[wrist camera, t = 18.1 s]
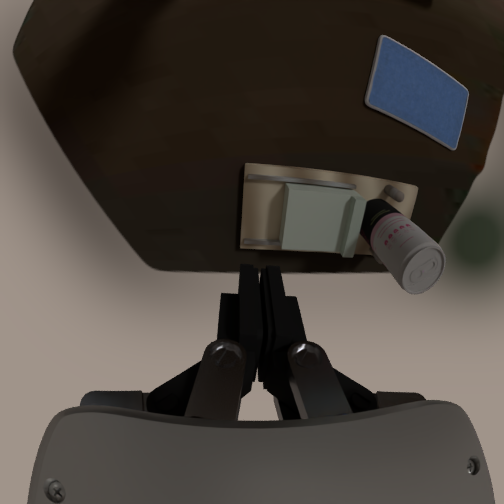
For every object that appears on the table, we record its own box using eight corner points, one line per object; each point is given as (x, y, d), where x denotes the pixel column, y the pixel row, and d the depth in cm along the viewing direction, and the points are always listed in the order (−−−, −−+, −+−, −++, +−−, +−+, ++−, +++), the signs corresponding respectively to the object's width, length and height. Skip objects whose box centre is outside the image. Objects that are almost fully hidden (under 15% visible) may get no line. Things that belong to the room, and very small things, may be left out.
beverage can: (395, 224, 39) (448, 277, 26) (362, 243, 40) (406, 304, 27) (383, 189, 36) (443, 234, 23) (347, 210, 37) (395, 265, 24)
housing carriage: (279, 238, 39) (282, 254, 35) (285, 182, 35) (291, 192, 31) (342, 242, 40) (352, 257, 36) (354, 189, 36) (366, 200, 32)
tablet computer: (466, 90, 28) (470, 90, 27) (452, 151, 34) (456, 153, 33) (377, 34, 25) (381, 32, 24) (361, 104, 31) (364, 104, 30)
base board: (240, 244, 41) (239, 260, 37) (245, 163, 35) (245, 170, 31) (395, 252, 43) (408, 267, 39) (414, 185, 37) (430, 195, 33)
